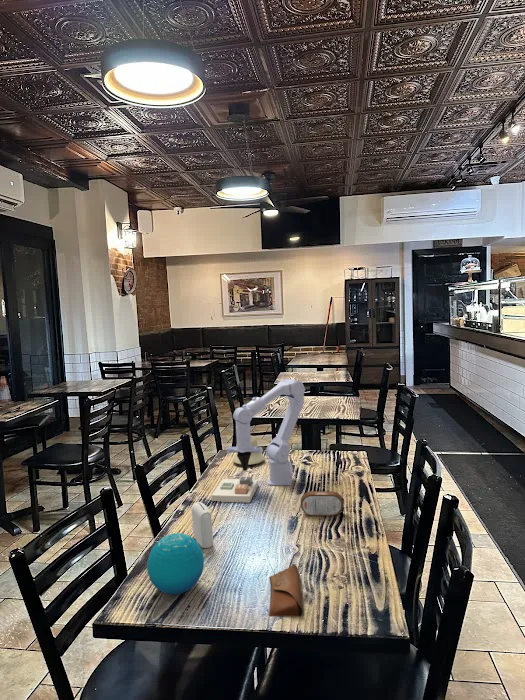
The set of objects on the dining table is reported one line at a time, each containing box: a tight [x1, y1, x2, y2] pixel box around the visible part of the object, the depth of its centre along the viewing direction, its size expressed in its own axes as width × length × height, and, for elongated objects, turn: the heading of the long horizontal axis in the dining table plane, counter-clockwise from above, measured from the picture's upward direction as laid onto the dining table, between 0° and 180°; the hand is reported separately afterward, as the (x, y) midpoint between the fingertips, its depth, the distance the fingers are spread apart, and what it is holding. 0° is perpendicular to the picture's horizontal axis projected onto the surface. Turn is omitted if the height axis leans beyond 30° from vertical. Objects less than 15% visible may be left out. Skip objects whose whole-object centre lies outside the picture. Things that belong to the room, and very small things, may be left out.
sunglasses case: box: [268, 564, 304, 617], centre depth 124 cm, size 18×7×7 cm
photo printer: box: [191, 501, 214, 549], centre depth 153 cm, size 10×4×12 cm, turn 26°
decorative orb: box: [146, 532, 205, 595], centre depth 127 cm, size 15×15×15 cm
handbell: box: [232, 434, 265, 466], centre depth 227 cm, size 15×15×25 cm
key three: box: [220, 483, 234, 490], centre depth 192 cm, size 4×4×3 cm
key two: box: [235, 484, 249, 494], centre depth 187 cm, size 4×4×3 cm
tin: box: [300, 490, 344, 517], centre depth 168 cm, size 15×3×8 cm, turn 84°
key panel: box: [211, 478, 259, 503], centre depth 192 cm, size 15×17×2 cm
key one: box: [239, 476, 253, 486], centre depth 195 cm, size 4×4×3 cm
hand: (245, 469), depth 194 cm, fingers closed
